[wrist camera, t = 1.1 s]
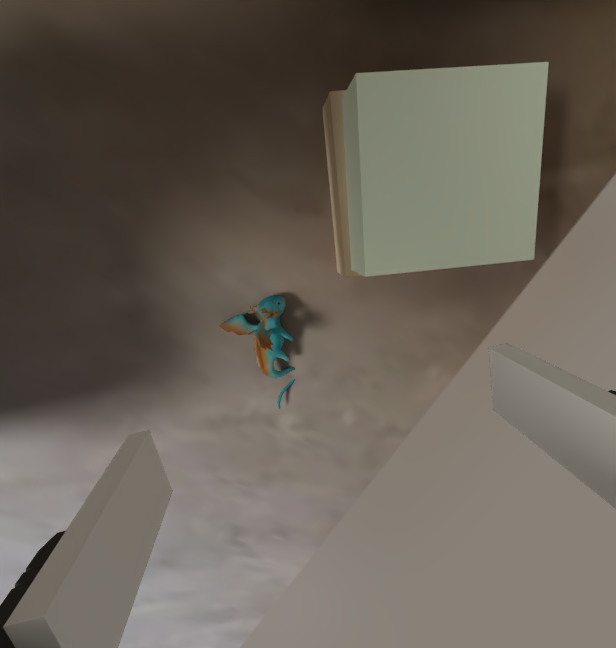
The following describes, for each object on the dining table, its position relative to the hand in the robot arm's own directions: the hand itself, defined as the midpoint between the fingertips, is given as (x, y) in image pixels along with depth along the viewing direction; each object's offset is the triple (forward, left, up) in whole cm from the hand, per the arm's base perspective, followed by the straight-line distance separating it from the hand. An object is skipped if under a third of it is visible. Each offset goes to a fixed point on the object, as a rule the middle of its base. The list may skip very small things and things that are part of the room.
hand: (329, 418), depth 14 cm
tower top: (+10, +9, -14) cm, 19 cm away
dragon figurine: (-3, -2, -18) cm, 18 cm away
